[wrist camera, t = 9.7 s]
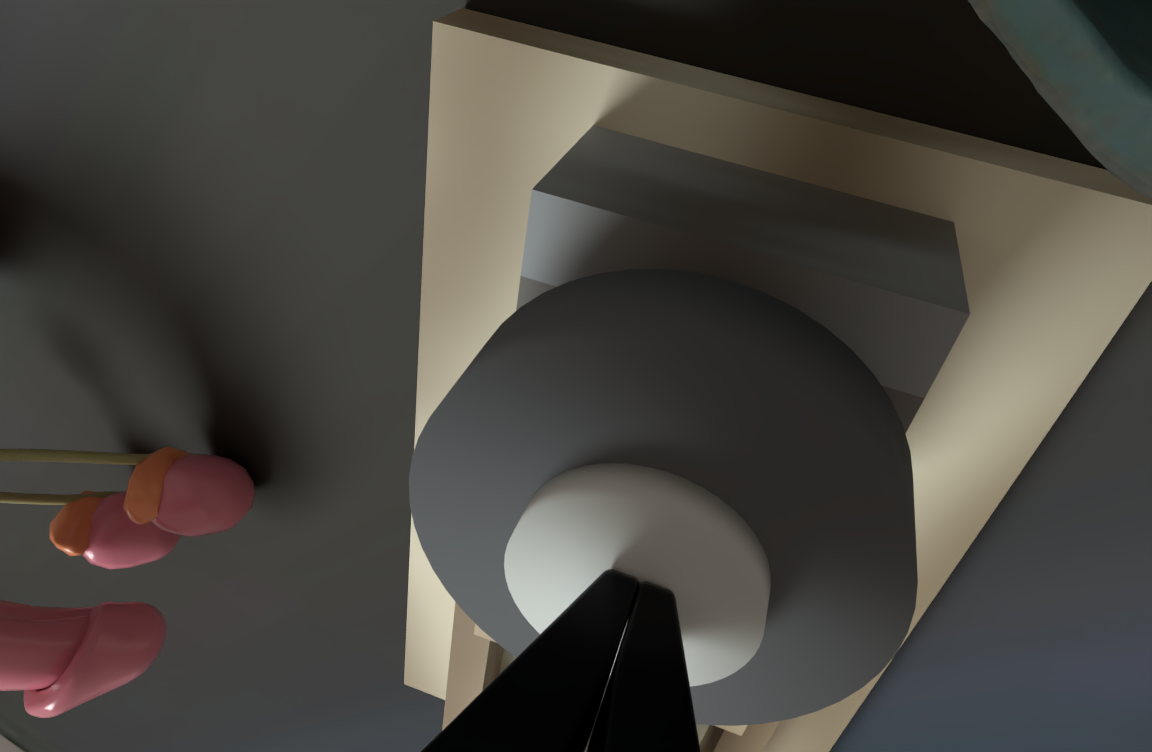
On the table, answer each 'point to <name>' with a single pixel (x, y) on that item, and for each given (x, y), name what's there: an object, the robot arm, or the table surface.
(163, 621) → the anatomy model
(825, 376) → the grey rounded knob
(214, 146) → the table surface
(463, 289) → the chassis board
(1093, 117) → the flower pot
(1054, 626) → the table surface
